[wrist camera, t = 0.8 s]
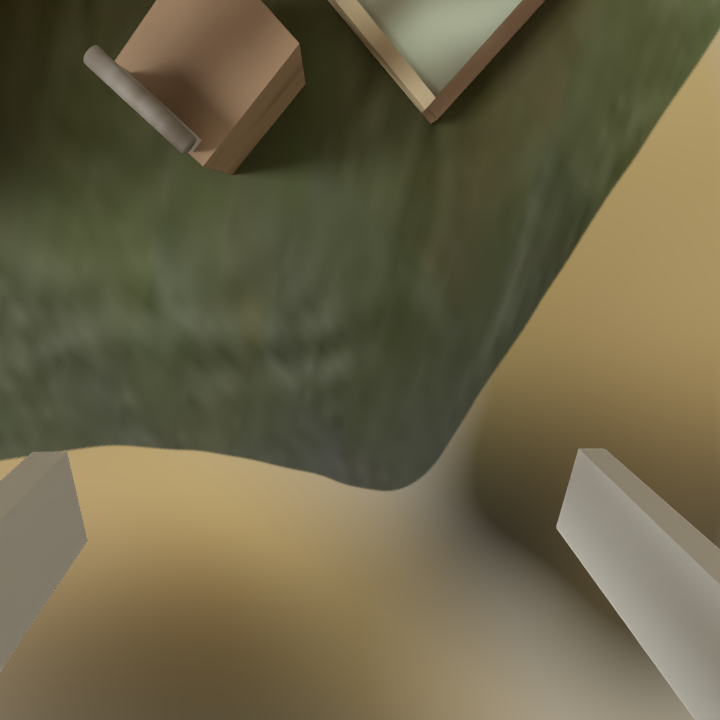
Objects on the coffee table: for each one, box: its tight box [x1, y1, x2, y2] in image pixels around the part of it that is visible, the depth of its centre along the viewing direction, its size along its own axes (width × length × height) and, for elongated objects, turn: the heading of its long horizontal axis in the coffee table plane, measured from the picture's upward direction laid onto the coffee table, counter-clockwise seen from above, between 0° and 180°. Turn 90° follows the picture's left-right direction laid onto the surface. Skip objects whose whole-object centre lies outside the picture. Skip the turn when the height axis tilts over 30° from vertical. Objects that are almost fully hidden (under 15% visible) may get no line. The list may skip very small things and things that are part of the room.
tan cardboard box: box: [84, 0, 306, 175], centre depth 24 cm, size 6×8×11 cm
